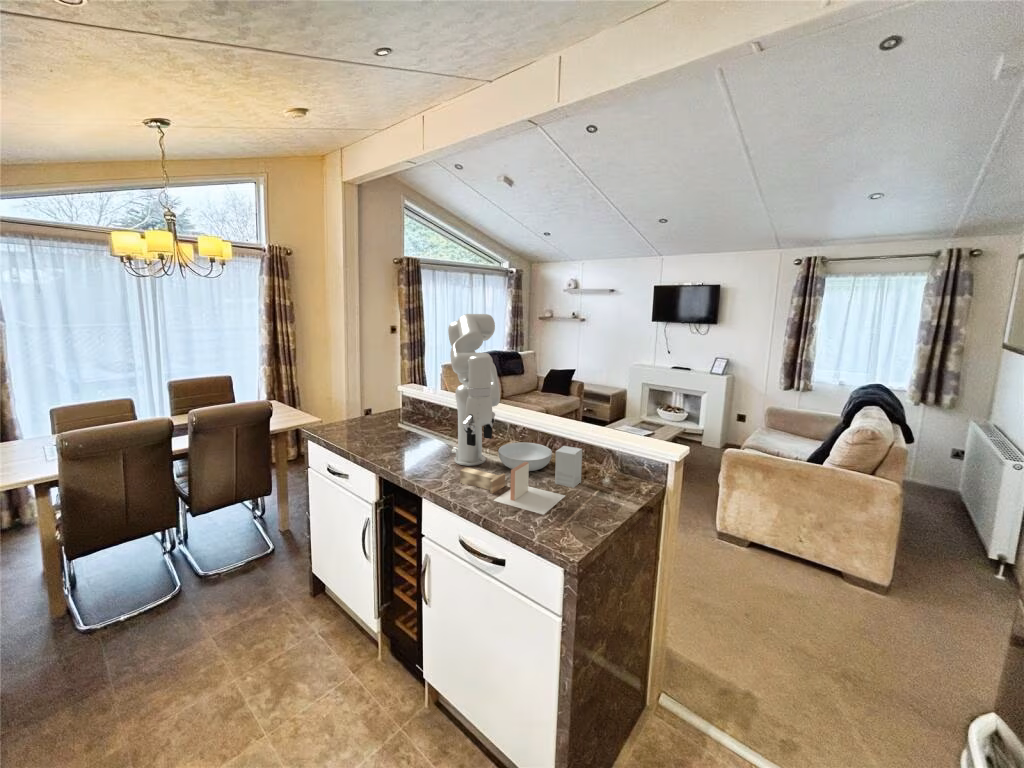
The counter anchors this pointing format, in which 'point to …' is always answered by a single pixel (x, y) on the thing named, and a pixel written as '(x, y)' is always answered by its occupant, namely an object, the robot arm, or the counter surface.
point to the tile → (519, 480)
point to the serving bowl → (525, 455)
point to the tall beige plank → (482, 479)
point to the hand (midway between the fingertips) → (479, 441)
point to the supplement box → (568, 466)
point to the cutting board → (532, 500)
